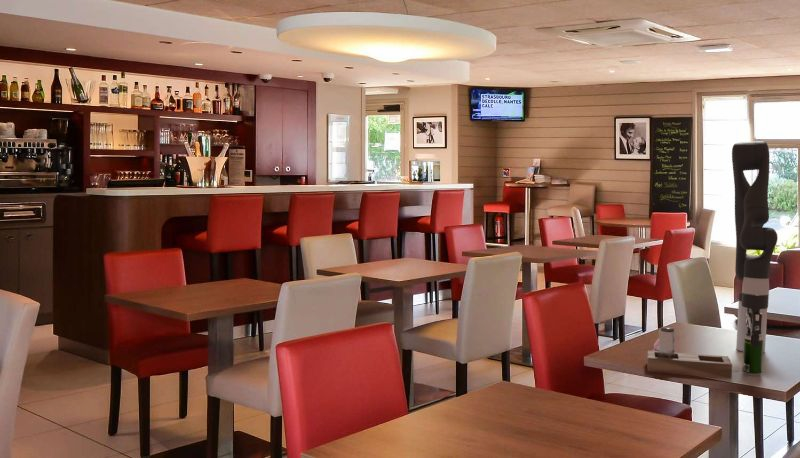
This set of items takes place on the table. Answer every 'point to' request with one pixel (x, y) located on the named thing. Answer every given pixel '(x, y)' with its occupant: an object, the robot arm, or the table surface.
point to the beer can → (752, 357)
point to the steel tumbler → (666, 342)
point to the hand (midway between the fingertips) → (752, 344)
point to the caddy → (690, 364)
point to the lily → (656, 346)
